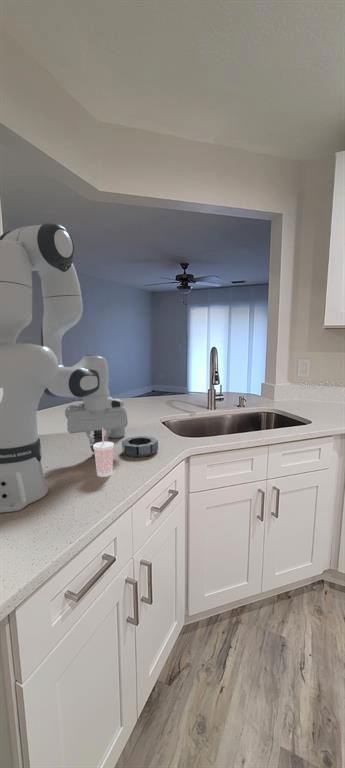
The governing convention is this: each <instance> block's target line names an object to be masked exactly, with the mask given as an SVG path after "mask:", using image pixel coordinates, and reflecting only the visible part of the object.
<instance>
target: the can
mask: <svg viewBox="0 0 345 768" xmlns="http://www.w3.org/2000/svg"><path fill="white" fill-rule="evenodd" d="M125 435H126V427H123V428H115V429H111V432H110V434H109V436H108V439H121V438H122V437H124V436H125Z"/></svg>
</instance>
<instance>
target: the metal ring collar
mask: <svg viewBox="0 0 345 768" xmlns="http://www.w3.org/2000/svg"><path fill="white" fill-rule="evenodd" d="M121 450H122V454H123V455H124V456H126V457H130V458H147V457H150V456H154V455H156V454H157V453H158V450H159V440H158V439H156V438H155V437H152V436H145V435H142V436H141V435H140V436H139V435H138V436H133V437H128V438H126V439H124V440H122V441H121Z"/></svg>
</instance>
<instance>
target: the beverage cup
mask: <svg viewBox="0 0 345 768" xmlns="http://www.w3.org/2000/svg"><path fill="white" fill-rule="evenodd" d="M104 431H105V430H104V429H103V428H102V441H103V442H98V443H95V444H94V445H93V449H94V452H93V454H94V453H95V458H94V460H95V468H96V475H97V477H100V478H107V477H109V476H112V475H113V474H114V470H113V467H114V460H113V459H114V448H115V443H114V442H113V441H108V442H104V436H105V433H104Z"/></svg>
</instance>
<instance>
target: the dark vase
mask: <svg viewBox="0 0 345 768" xmlns="http://www.w3.org/2000/svg"><path fill="white" fill-rule="evenodd" d="M92 437H94V442H95V443H98V442H103V441H102V430H97V431H93V434H92ZM95 443H94V444H95ZM94 444H90V446H89V447H90V448H91V452H92V453H93V454H91V458H93V459H95V453H94V449H93V445H94Z"/></svg>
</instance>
